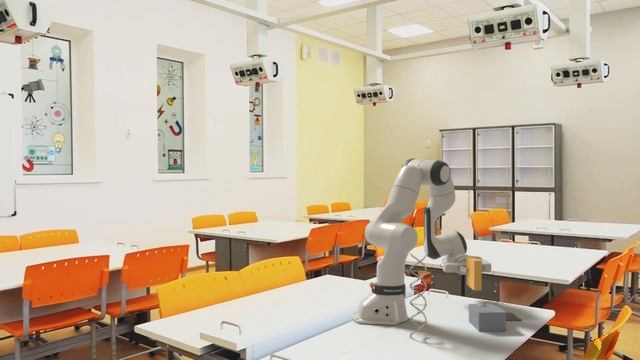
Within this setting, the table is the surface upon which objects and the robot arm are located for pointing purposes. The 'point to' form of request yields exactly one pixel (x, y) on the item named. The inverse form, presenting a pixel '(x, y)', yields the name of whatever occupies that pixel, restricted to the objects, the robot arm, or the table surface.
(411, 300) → the dna model
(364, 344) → the table surface
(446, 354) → the table surface
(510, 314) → the mat
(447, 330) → the table surface
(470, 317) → the box
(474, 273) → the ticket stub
